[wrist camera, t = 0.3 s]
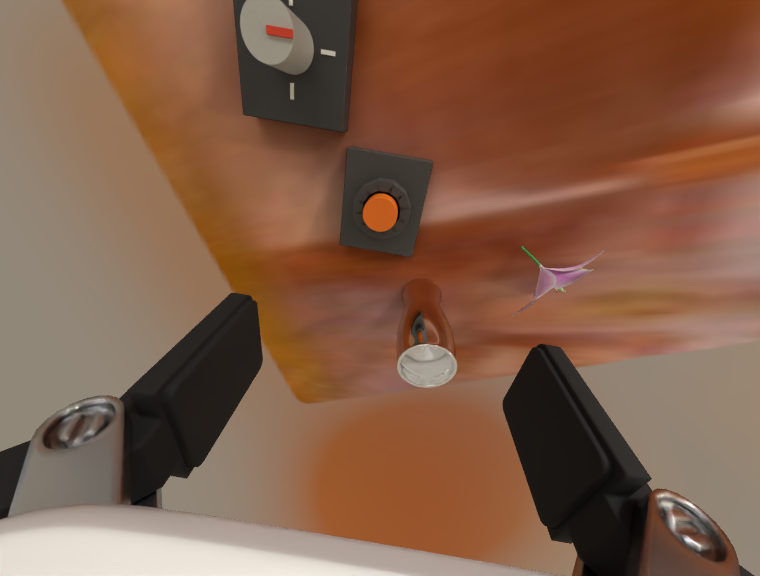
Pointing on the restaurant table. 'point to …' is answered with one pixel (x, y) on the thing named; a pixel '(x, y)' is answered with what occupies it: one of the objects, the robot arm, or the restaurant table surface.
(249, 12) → the timer knob
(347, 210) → the power block
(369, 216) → the power button
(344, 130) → the panel
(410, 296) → the beer glass
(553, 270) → the lily
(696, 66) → the restaurant table surface
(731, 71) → the restaurant table surface
